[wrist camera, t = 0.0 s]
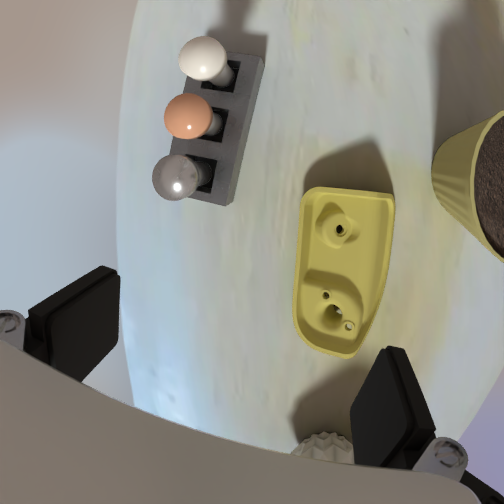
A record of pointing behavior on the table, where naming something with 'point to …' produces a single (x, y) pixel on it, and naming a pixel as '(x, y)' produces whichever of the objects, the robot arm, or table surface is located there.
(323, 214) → the plastic component
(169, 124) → the terracotta plunger
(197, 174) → the grey plunger
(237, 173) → the grey socket block
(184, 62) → the ivory plunger
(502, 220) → the potted cactus
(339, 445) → the vase
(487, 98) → the table surface
